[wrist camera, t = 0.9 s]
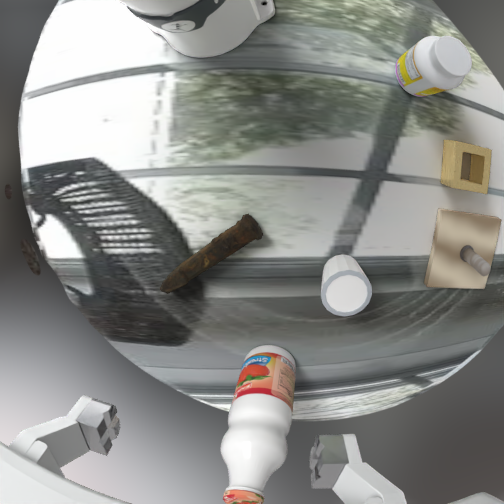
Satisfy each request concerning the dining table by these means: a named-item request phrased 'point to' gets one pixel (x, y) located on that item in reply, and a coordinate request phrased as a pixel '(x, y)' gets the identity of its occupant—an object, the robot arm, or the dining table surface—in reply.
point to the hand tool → (213, 253)
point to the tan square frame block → (477, 169)
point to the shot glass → (344, 286)
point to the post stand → (462, 250)
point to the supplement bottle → (433, 66)
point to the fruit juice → (258, 423)
